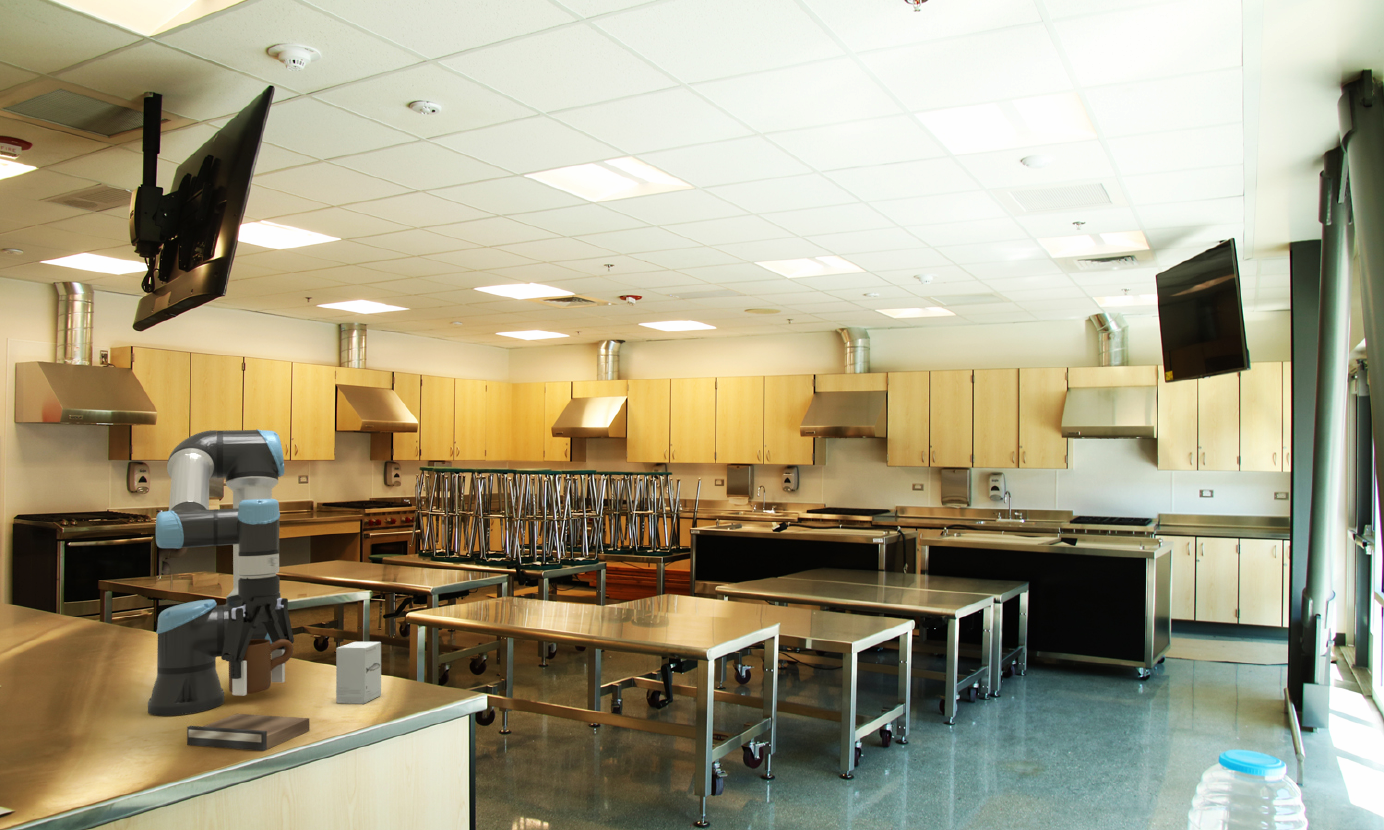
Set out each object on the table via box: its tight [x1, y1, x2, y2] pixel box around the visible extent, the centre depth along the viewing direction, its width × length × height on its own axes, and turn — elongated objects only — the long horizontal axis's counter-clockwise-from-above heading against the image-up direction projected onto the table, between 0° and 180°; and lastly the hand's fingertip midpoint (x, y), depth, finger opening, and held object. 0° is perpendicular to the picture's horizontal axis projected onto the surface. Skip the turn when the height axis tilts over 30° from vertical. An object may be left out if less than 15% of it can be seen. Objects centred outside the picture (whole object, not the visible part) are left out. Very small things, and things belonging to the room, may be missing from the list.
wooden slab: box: [186, 713, 311, 752], centre depth 179 cm, size 18×13×4 cm
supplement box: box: [335, 641, 382, 705], centre depth 206 cm, size 7×7×13 cm
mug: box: [228, 639, 294, 695], centre depth 180 cm, size 12×8×9 cm, turn 129°
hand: (259, 687), depth 179 cm, fingers closed on mug, 10 cm apart
